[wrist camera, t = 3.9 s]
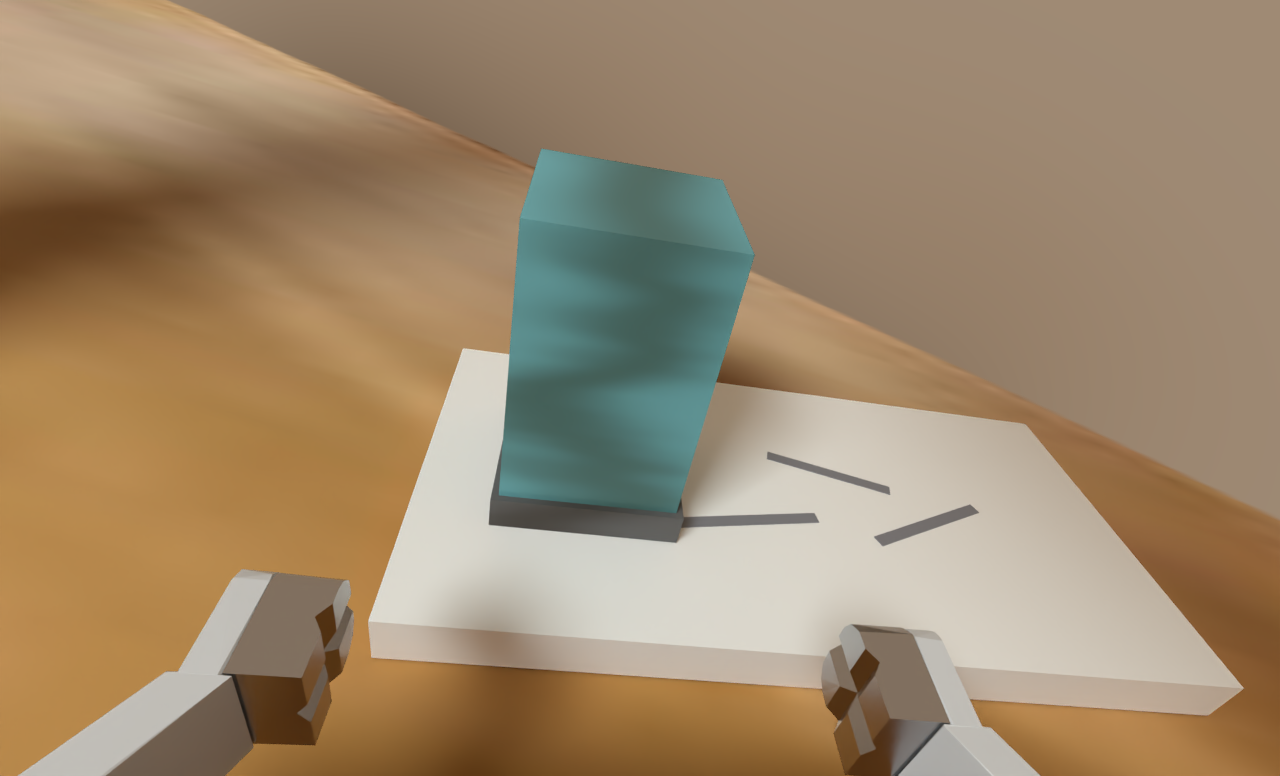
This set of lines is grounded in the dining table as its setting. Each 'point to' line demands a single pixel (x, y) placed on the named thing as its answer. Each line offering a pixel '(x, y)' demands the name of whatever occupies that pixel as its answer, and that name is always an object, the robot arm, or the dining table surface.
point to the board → (797, 560)
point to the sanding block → (614, 344)
